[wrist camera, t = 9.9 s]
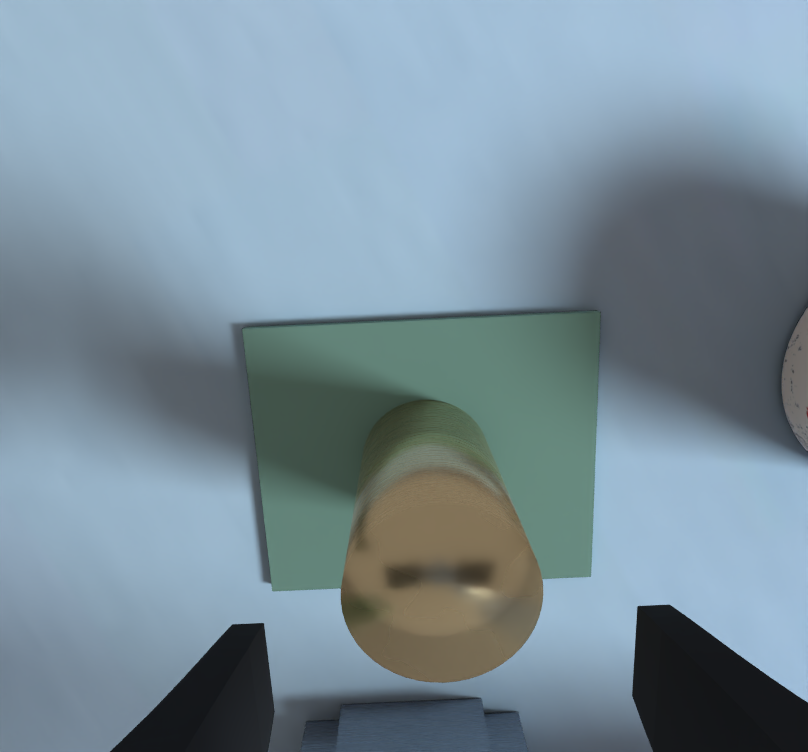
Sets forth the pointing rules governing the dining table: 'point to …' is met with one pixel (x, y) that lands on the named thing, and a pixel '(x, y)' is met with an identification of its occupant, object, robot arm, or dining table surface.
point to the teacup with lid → (797, 381)
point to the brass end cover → (436, 550)
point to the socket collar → (416, 729)
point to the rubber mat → (423, 380)
